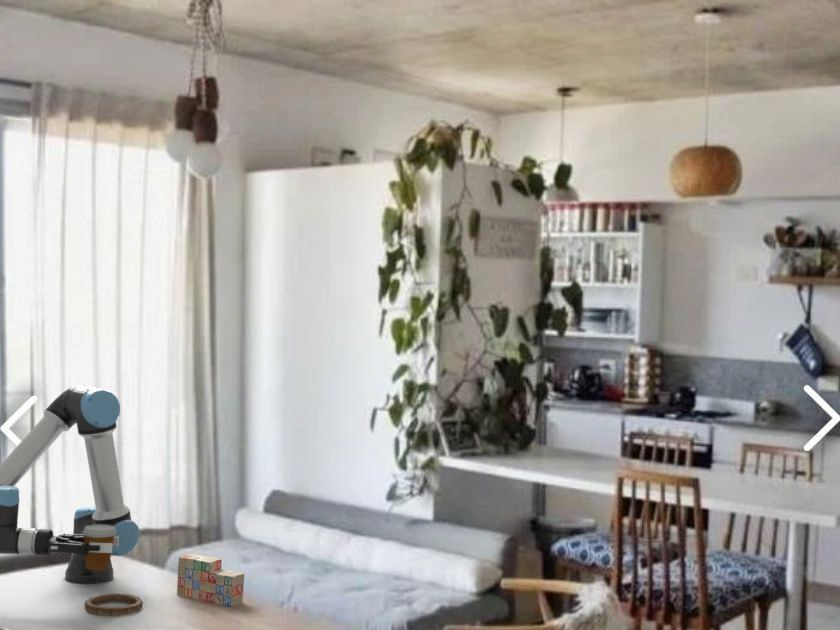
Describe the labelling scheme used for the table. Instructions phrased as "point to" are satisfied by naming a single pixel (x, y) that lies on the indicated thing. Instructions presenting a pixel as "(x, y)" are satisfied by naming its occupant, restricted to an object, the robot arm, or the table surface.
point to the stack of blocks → (209, 580)
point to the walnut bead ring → (113, 611)
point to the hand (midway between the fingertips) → (115, 544)
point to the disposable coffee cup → (98, 536)
